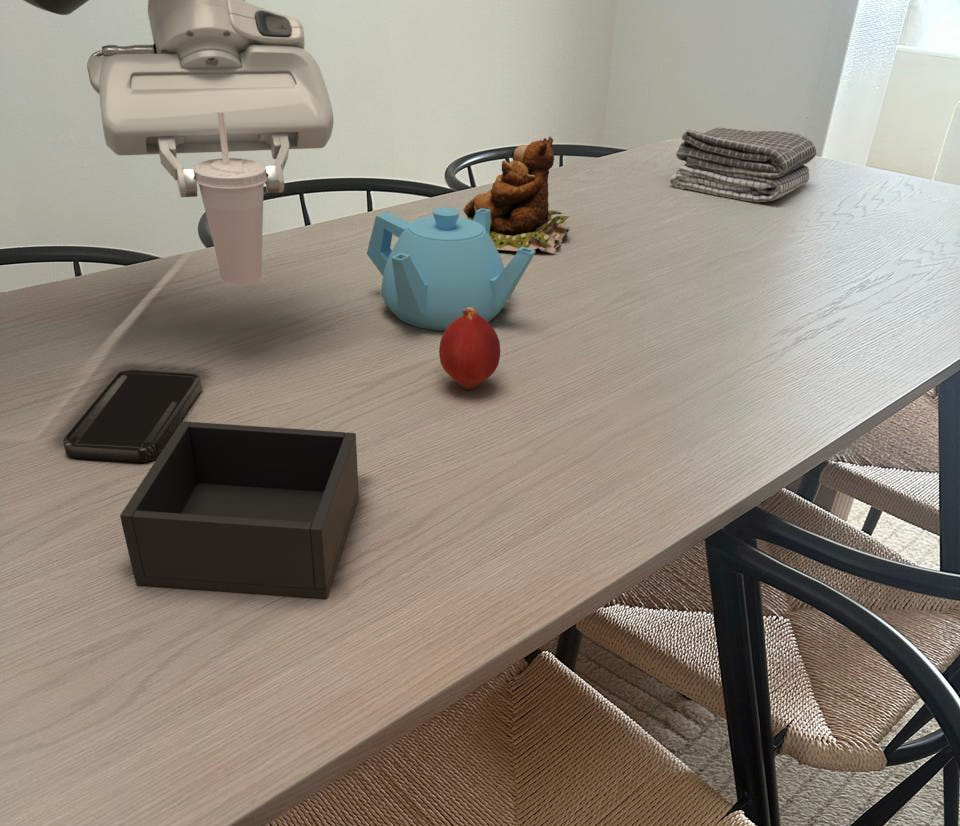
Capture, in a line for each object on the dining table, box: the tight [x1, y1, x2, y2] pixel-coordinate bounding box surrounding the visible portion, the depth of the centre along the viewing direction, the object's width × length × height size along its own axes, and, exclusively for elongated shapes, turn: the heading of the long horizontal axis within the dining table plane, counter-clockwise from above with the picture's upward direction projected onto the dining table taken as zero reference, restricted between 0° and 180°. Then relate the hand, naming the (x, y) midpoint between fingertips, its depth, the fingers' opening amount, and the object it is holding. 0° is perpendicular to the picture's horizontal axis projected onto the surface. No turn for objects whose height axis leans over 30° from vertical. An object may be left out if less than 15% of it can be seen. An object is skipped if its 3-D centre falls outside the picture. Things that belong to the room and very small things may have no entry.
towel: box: [669, 127, 818, 203], centre depth 151 cm, size 15×18×8 cm
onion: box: [438, 307, 501, 390], centre depth 93 cm, size 6×6×8 cm
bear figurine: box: [462, 135, 571, 254], centre depth 127 cm, size 14×15×12 cm
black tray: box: [119, 420, 360, 600], centre depth 73 cm, size 14×14×6 cm
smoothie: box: [192, 111, 267, 285], centre depth 89 cm, size 6×6×14 cm
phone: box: [62, 368, 203, 463], centre depth 88 cm, size 8×1×15 cm
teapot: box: [366, 206, 536, 332], centre depth 107 cm, size 15×15×11 cm
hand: (233, 191), depth 88 cm, fingers closed on smoothie, 6 cm apart
